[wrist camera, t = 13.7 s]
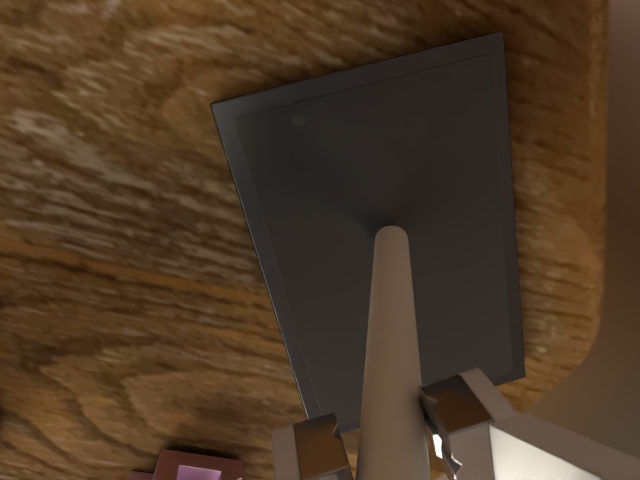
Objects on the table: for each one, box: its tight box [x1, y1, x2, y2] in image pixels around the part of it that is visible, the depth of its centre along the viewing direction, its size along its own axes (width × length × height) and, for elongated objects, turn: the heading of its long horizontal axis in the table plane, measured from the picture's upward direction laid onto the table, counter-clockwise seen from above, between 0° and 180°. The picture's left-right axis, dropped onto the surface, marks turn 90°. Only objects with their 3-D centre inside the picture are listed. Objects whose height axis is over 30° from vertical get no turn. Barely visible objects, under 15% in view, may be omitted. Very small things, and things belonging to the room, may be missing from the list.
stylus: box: [356, 226, 431, 480], centre depth 14 cm, size 2×2×15 cm
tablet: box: [210, 31, 525, 434], centre depth 22 cm, size 19×13×1 cm
